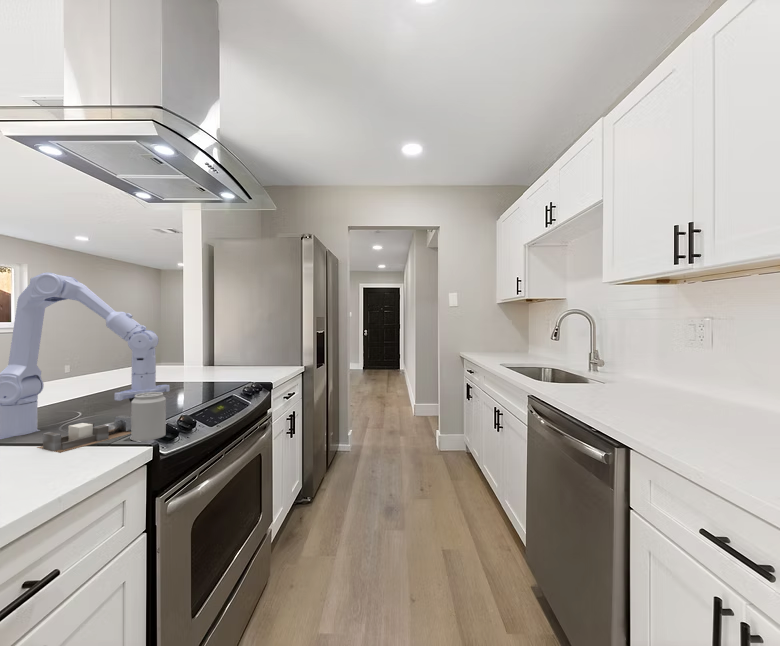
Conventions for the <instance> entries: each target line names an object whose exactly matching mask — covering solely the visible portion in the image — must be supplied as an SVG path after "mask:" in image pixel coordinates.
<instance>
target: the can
mask: <svg viewBox="0 0 780 646" xmlns="http://www.w3.org/2000/svg"><path fill="white" fill-rule="evenodd" d="M134 397H135V398H134V399H133V400H132V402H130V404H131V405H130V406H131V407H130V408H131V410H130V411H131V413H130V416H131V430H130V432H131V434H130V437H131V438H130V440H132V441H134V442H146V441H154V440H158V439H161V438H164V437H165V436H166V433H167V431H166V429H167V428H166V427H167V423H166V421H167V397H165V396H164V392H148V393H140V394H136V395H135V396H134Z"/></svg>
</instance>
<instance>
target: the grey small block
mask: <svg viewBox="0 0 780 646" xmlns="http://www.w3.org/2000/svg"><path fill="white" fill-rule="evenodd" d="M102 425H106V426H109V433H113V432H117V431H127V432H130V431H131V415H117V416H115V417H114V421H113V422H110V423H104V424H101V425H99V426H102ZM97 426H98V425H94V427H97Z"/></svg>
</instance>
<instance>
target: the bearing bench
mask: <svg viewBox="0 0 780 646" xmlns="http://www.w3.org/2000/svg"><path fill="white" fill-rule="evenodd" d="M86 423H87V424H93V435H91V436H87V437H83V438H79V439H75V440H71V441H68V435H69V434H67V435H62V434H61V433H55V432H52V431H48V432H44V433H42V446H37V447H36V448H37V449H42V450H46V451H50V452H53V453H54V452H55V453H58V454H61V453H66V452H69V451H73V450H75V449H80V448H83V447H84V448H85V447H86V446H90V445H94V444H97V443H102V442H105V441H109V440H112V439H116V438H120V437H123V436H127V435H131V431H117V432H113V433H109V426H106V425H104V424H101V425H102V426H100V425H96V426H97V427H95V423H94V422H86Z"/></svg>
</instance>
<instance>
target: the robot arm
mask: <svg viewBox="0 0 780 646" xmlns="http://www.w3.org/2000/svg"><path fill="white" fill-rule="evenodd" d="M17 298H18V299H17V301H16V302H17V303H16V310H15V315H14V316H15V317H14V321H13V329H12V335H11V336H12V337H11V343H10V344H11V345H10V351H9V357H8V362H7V363H8V364H7V366H6V367H5V368H4V369H2V371H0V440H3V439H7V438H12V437H19V436H24V435H27V434H28V435H29V434H33V433H36V432H39V431H41V430H40V429H38V397H39V394H41V392H42V391H43V389H44V380H43V379H42V370H41V369H40V367H39V366H38V362H39V361H38V359H39V355H40V354H39V353H40V352H39V351H40V347H41V346H40V344H41V338H42V333H43V325H44V318H45V311H46V308H47V307H49V306H52V305H53V304H55V303H57V302H59V301H60V302H61V301H67V300H72V301H77V302H79V303H80V304H82V305H84V306H85V307H86V308H87V309H89V310H91V311H92V312H93V313H95V314H97V315H98V316H100V317H101V318H102V319H104V320H105V327H106V328H108V329H109V330H110V331H112V332H113V333H114V334H116V335H117V336H118V337H120V338H121V339H122V340H123V341H125V342H127V345H128V347H129V349H130V350H131V385H130V386H131V388H129V389H126V390H121V391H119V392H114V401H118V402H119V401H123V400H129V402H130V403H131V402H132V400H133V399H134V398H135V397H134V396H135V395H136V394H140V393H148V392H161V393H164V392H165V393H166V392H167V393H168V392H170V386H171V385H170V384H159V385H156V383H157V382H156V380H157V378H156V376H157V368H156V367H157V361H156V360H157V359H156V358H157V357H156V347H157V346H158V344H159V337H158V335H157V334H156V332H155V331H154V330H150V329H147V326H145V325H143V324H140V323H139V322H138V321H137V320H135V319H134V318H133V316H134V315H133V314H131V313H130V312H125V311H117V310H115V309H113V307H111V306H110V305H109V304H108V303H106V301H104V300H103V299H102V298H101V297H99V296H98V295H97V294H96V293H95V292H94V291H92V290H91V289H89V287H88V286H87V285H86V284H84V283H82V282H80V281H78V279H76V278H75V277H73V276H68V275H61V274H56V273H55V272H54V273H53V272H47V271H46V272H41V273H40V274H37V275H35V276H33V277H31V278H30V280H29V284H28V285H27V287H25V289H24V290H23V291H22V292H21V294H20V295H19V296H18V297H17Z"/></svg>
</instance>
